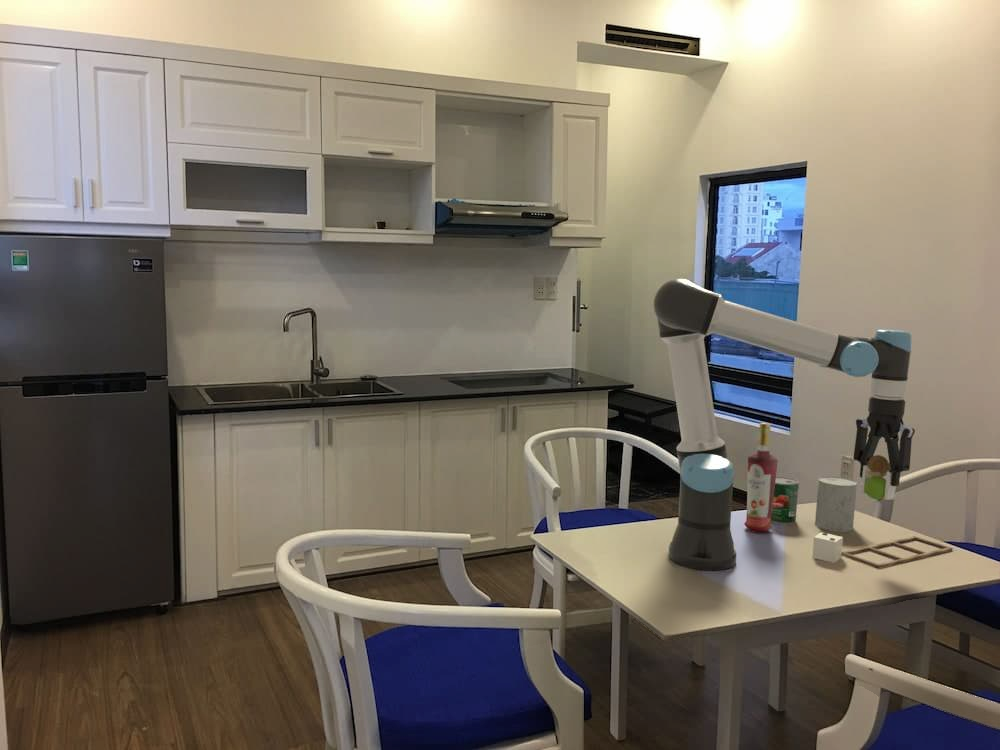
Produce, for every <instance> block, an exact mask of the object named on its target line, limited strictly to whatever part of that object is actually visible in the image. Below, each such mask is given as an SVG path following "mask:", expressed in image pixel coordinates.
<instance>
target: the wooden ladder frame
mask: <svg viewBox="0 0 1000 750" xmlns="http://www.w3.org/2000/svg"><path fill="white" fill-rule="evenodd" d="M911 541H917V542H921V543H923V544H924V543H925V544H927V545H931V546H933V547H936V548H939V549H935V550H932V551H928V552H926V551H923V550H920V549H917V548H915V547H911V546H907V545H904V544H903V543H907V542H911ZM889 546H895V547H897V548H900V549H904V550H907V551H910V552H913V553H917V554H915V555H910V556H906V557H900V556H898V555H894V554H891V553H888V552H886V551H883V550H880V549H879V548H886V547H889ZM953 550H954V549H953V547H950V546H947V545H944V544H940V543H938V542H934V541H930V540H928V539H924V538H921V537H919V536H916V535H915V536H909V537H904V538H900V539H896V540H891V541H886V542H883V543H876V544H873V545H872V544H871V545H867V546H864V547H863V546H861V547H859V548H854V549H850V550H845V551H842V555H841V556H844V557H845V558H849V559H852V560H855V561H858V562H860V563H863V564H866V565H868V566H871V567H873V568H877V569H881V568H887V567H890V566H893V565H894V564H895V565H899V564H903V563H906V561H907V562H910V561H911V562H912V561H914V560H915V561H916V560H919V559H922V558H928V557H930V556H931V557H932V556H937V555H939V554H940V555H941V554H943V553H947V552H953ZM865 551H870V552H872V553H876V554H878V555H882V556H885V557H887V558H890V559H893V560H890V561H887V562H886V561H885V562H882V563H875V562H873V561H871V560H867V559H865V558H861V557H859V556H856V555H854V554H857V553H862V552H865ZM902 562H903V563H902ZM898 563H899V564H898Z"/></svg>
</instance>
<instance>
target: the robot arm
mask: <svg viewBox="0 0 1000 750" xmlns="http://www.w3.org/2000/svg"><path fill="white" fill-rule="evenodd" d="M653 311H654V313H655V316H656V319H657V326H658V332H659V333H658V334H659V338H660V340H661V341H663V342H664V343H665V344H667V345H666V346H667V349H668V351H667V352H668V358H669V363H670V371H671V377H672V383H673V384H672V385H673V390H674V397H675V402H676V403H675V404H676V410H677V411H676V412H677V417H678V422H679V423H678V424H679V431H680V438H681V441H680V442H679V443H678V444H677V446H676V454H677V461H678V467H679V475H680V481H679V483H680V484H679V485H680V486H679V498H678V517H677V526H676V528H675V531H674V533H673V536H672V540H671V541H670V542H669V544H668V555H667V556H668V558H669V559H670V560H671V561H673V562H674V563H676V564H678V565H680V566H683V567H686V568H691V569H696V570H702V571H703V570H704V571H721V570H727V569H730V568H732V567H734V566H735V565H736V563H737V550H736V548H735V547H734V539H733V536H732V531H731V520H732V518H731V517H732V507H733V505H732V504H733V490H734V489H733V488H734V481H735V476H736V475H735V471H734V470H735V468H734V465H733V463H732V461H730V460H729V459H728V453H727V448H726V442H725V440H723V439H722V438H721V437H720V436H718V430H717V423H716V416H715V408H714V404H713V403H714V402H713V396H712V395H713V394H712V388H711V387H712V386H711V381H710V374H709V368H708V360H707V353H706V346H705V341H704V339H705V337H707V336H710V335H712V334H716V335H719V336H722V337H726V338H730V339H732V340H736V341H739V342H743V343H746V344H749V345H753V346H756V347H760V348H763V349H767V350H770V351H773V352H775V353H776V352H777V353H779V354H783V355H787V356H790V357H793V358H796V359H799V360H802V361H806V362H808V363H812V364H816V365H818V366H819V367H820V368H828V369H832V370H835V371H838V372H841V373H845V374H847V375H848V376H851V377H854V378H855V377H856V378H862V377H866V376H868V375H870V374H871V377H870V385H869V387H870V388H869V394H870V395H871V396H870V397H869V399H868V409H867V410H868V413H869V414H868V416H867V417H866V418H857V419H856V420H855V425H856V436H855V443H854V449H853V451H854V452H853V460H854V461H856V462H859V463H860V469H859V477H860V478H861V487H860V493H862V494H866V492H865V489H864V485H865V482H866V481H867V480H868V479H869V478H870V477H872V476H870V475H869V474H868V471H871V470H870V469H869V468H868V461H869V460H870V458H871V457H873V456H875V452H876V449H877V447H878V444H879V441H880V440H881V439H882V438H883V439H884V443H886V448H887V455H888V463H890V469H891V470H889V471H887V475H886V476H885V477H886V478H885V479H886V486H885V496H884V498H883V500H885V501H890V500H894V499H895V498H896V490H897V489H896V488H897V487H898V486H899V485H900V481H901V479H900V478H901V473H903V472H907V471H908V472H909V471H910V467H911V466H910V465H911V456H912V455H911V454H912V442H913V441H912V439H913V436H914V434H915V431H916V429H915V428H913V427H908V426H907V425H905V424H904V420H903V417H904V415H905V407H906V401H905V399H904V398H906V396H907V390H908V389H907V387H908V377H909V368H910V359H911V354H912V334H911V333H910V332H909V331H906V330H899V329H897V330H896V329H877V330H876V332H875V335H874V337H859V336H857V337H856V336H846V335H843V334H839V333H836V332H832V331H829V330H825V329H823V328H820V327H817V326H816V327H815V326H812V325H809V324H806V323H802V322H798V321H795V320H791V319H788V318H785V317H782V316H778V315H775V314H773V313H772V314H771V313H769V312H764V311H762V310H758V309H755V308H752V307H748V306H745V305H743V304H739V303H734V302H732V301H729V300H725V299H724V298H723V296H722V294H720V293H717V292H713V291H712V290H708V289H705V288H704V287H702V286H699V285H698V284H697V283H696V282H694V281H692V280H690V279H688V278H675V279H670V280H668V281H666V282H665V283H663V284H662V285H661V286H660V287H659V288H658V289H657V292H655V296H654V299H653ZM869 428H870V429H869ZM899 435H900V439H899Z"/></svg>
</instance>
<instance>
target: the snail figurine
mask: <svg viewBox="0 0 1000 750" xmlns="http://www.w3.org/2000/svg"><path fill="white" fill-rule="evenodd" d="M868 468H869V469H870V470H871V471H868V474H869V475H870V476H872V477H870V478H869V479H868V480H867V481H866V482H865V485H864V489H865V492H866V493H865V494H866V495H867V496H868V497H869V498H871V499H873V500H884V496H885V486H886V478H884V477H887V471H889V470H891V469H890V463H889V460H887V458H886V457H885V456H883V455H880V454H878V455H873V457H871V458H870V460H869V461H868Z"/></svg>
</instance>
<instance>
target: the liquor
mask: <svg viewBox="0 0 1000 750" xmlns="http://www.w3.org/2000/svg"><path fill="white" fill-rule="evenodd" d="M771 426H772V425H771V423H768V422H760V423H759V430H758V431H759V438H758V439H759V440H758V445H757V451H756V452H755V453H752V454H750V455H749V456H748V457H747V477H746V478H747V479H746V480H747V482H746V483H747V484H746V485H747V488H746V490H747V493H746V494H747V496H746V497H747V499H746V520H745V522H744V523H743V524H744V526H745V527H746V528H747V529H748V531H750V532H752V533H757V534H764V533H767V532H769V531H770V530H771V529H772V528H773V525H772V522H771V513H772V503H773V495H774V488H775V481H776V477H777V473H778V472H777V470H778V464H779V463H778V462H779V460H778V459H777V457H775V456H774V455H772V454H770V434H771Z"/></svg>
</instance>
